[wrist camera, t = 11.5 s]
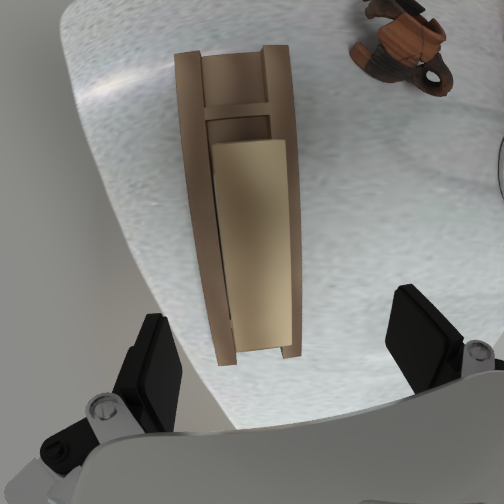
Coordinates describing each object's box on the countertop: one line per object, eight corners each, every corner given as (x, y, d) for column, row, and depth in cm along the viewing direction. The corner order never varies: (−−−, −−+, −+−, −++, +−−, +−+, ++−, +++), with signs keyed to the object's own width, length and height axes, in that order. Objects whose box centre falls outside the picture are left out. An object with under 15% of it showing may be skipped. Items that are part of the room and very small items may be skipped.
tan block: (264, 139, 24) (285, 139, 15) (273, 286, 29) (291, 344, 21) (215, 143, 23) (209, 146, 15) (231, 291, 29) (234, 351, 20)
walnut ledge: (280, 56, 22) (288, 45, 19) (294, 336, 33) (301, 356, 30) (180, 64, 22) (174, 54, 18) (218, 345, 33) (218, 366, 30)
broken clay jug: (320, 39, 22) (359, -18, 14) (362, 23, 24) (397, -20, 17) (410, 127, 23) (469, 86, 15) (434, 95, 25) (480, 62, 17)
